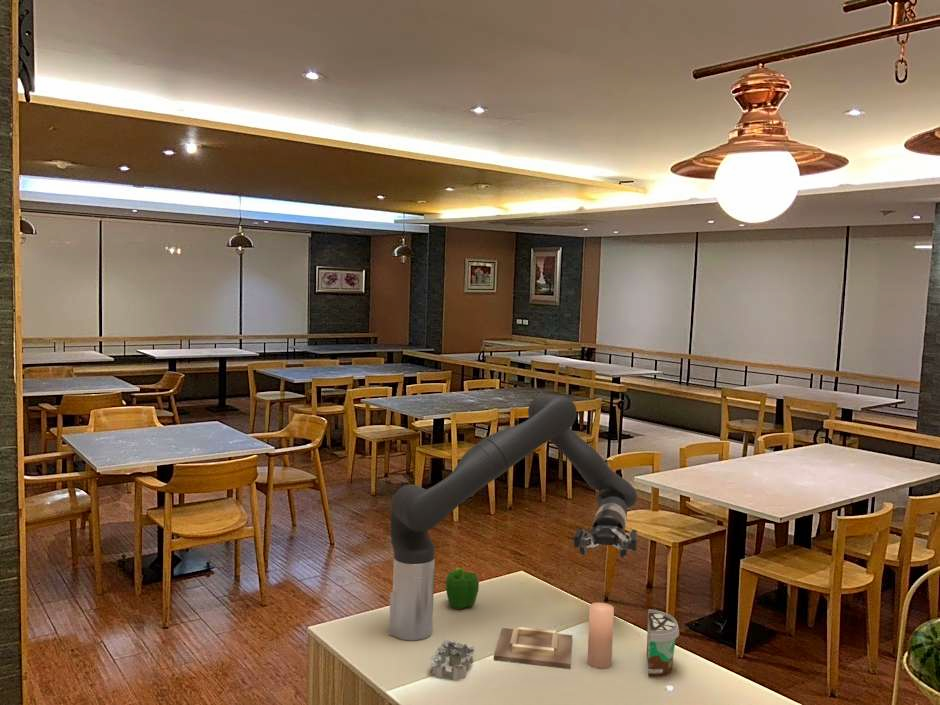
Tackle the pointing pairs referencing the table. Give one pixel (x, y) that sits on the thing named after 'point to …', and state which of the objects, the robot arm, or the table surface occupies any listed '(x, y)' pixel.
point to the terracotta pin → (600, 635)
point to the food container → (660, 643)
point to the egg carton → (452, 660)
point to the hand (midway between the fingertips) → (602, 552)
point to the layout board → (534, 647)
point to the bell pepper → (461, 588)
